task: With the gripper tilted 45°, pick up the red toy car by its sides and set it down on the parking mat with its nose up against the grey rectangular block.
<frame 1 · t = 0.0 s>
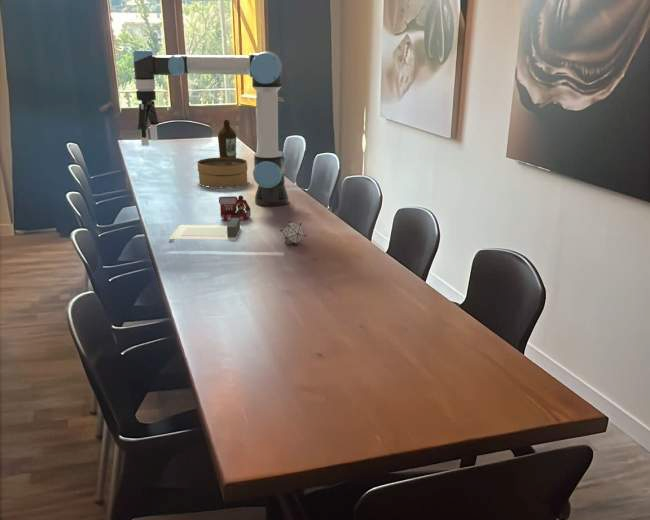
hand: (149, 142, 259), 28 cm above the table, tool pointing down, fingers open, 13 cm apart
olive oil: (228, 162, 368), on the table
grey rectangular block: (233, 232, 234), resting on parking mat
parking mat: (206, 234, 234), on the table
steamer basket: (223, 183, 317), on the table
geodesic ball: (293, 244, 226), on the table
red toy car: (235, 221, 252), on the table
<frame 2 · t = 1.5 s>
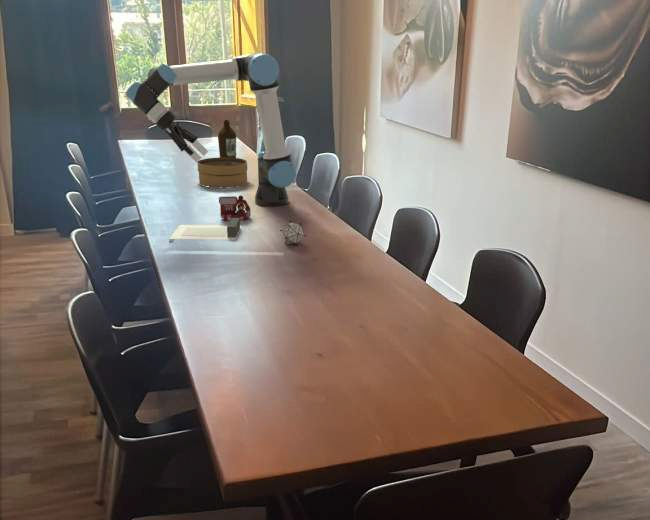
hand: (202, 156, 243), 26 cm above the table, tool tilted 45°, fingers open, 13 cm apart
nothing on the table moved.
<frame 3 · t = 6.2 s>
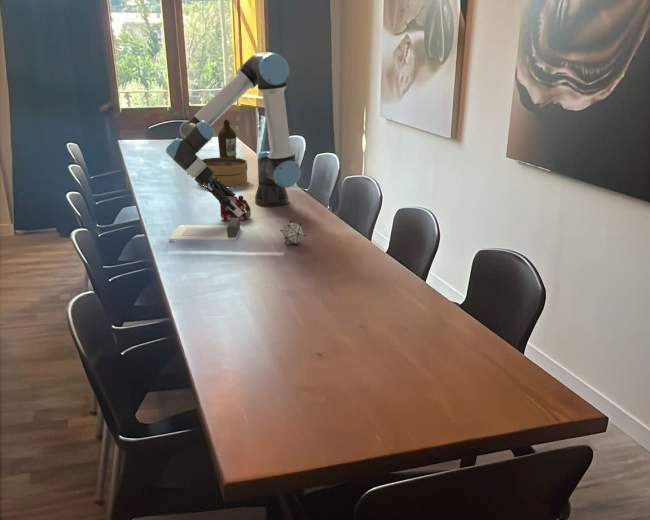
hand: (242, 212, 251), 4 cm above the table, tool tilted 45°, fingers closed on red toy car, 7 cm apart
red toy car: (235, 221, 252), on the table, touching gripper
everything else where it was.
when the fingers open (5 cm above the table, at t = 11.9 s): red toy car stays where it is, resting on parking mat.
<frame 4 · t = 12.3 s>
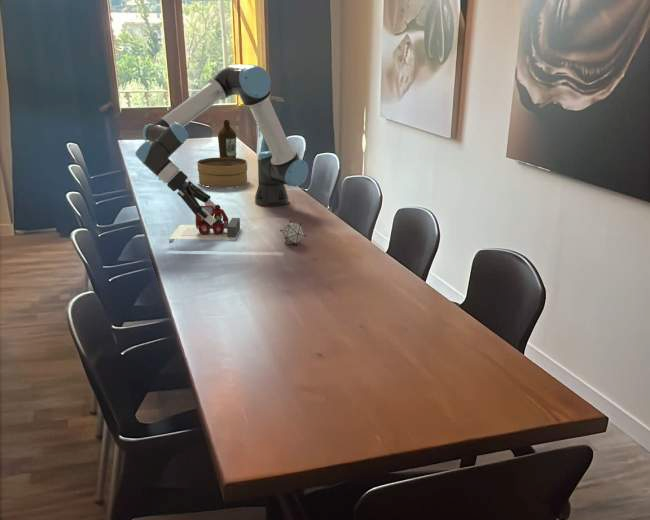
hand: (216, 218, 232), 6 cm above the table, tool tilted 45°, fingers open, 12 cm apart
red toy car: (212, 232, 233), point 1 cm above the table, touching parking mat
everything else where it was.
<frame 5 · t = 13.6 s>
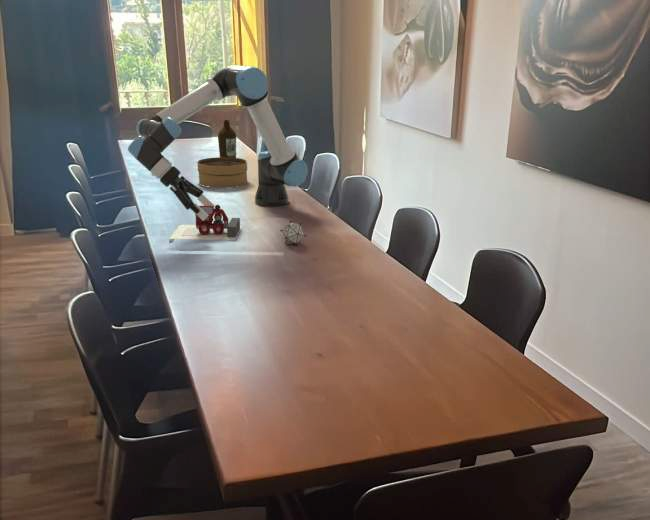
hand: (209, 213, 231), 8 cm above the table, tool tilted 45°, fingers open, 13 cm apart
nothing on the table moved.
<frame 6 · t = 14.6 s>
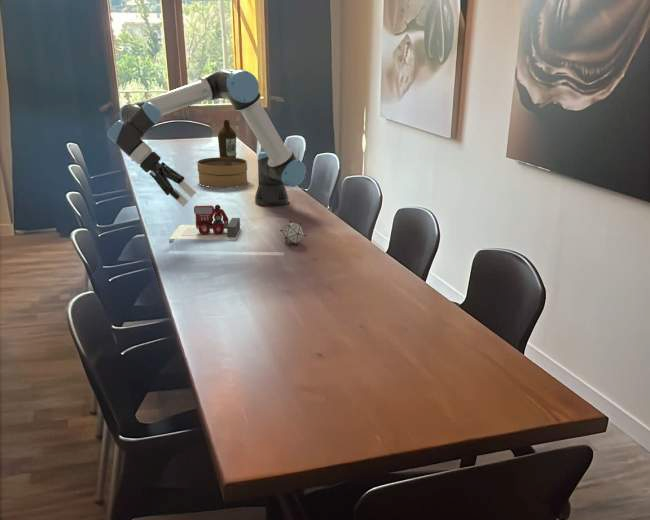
hand: (190, 199, 229), 14 cm above the table, tool tilted 45°, fingers open, 13 cm apart
nothing on the table moved.
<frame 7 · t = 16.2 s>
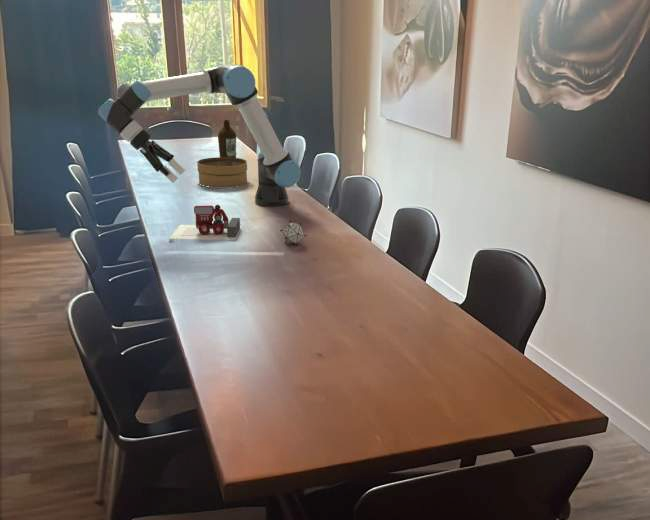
hand: (179, 176, 235), 20 cm above the table, tool tilted 45°, fingers open, 13 cm apart
nothing on the table moved.
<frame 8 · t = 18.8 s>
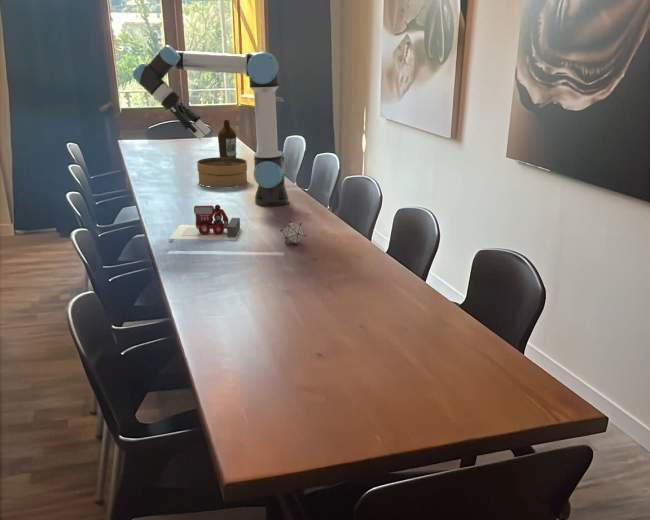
hand: (205, 135, 257), 32 cm above the table, tool tilted 45°, fingers open, 13 cm apart
nothing on the table moved.
at the end: red toy car 1.2 cm from the target spot on the parking mat, point 0.9 cm above the parking mat's base; red toy car tilted 0°; the gripper is holding nothing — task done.
